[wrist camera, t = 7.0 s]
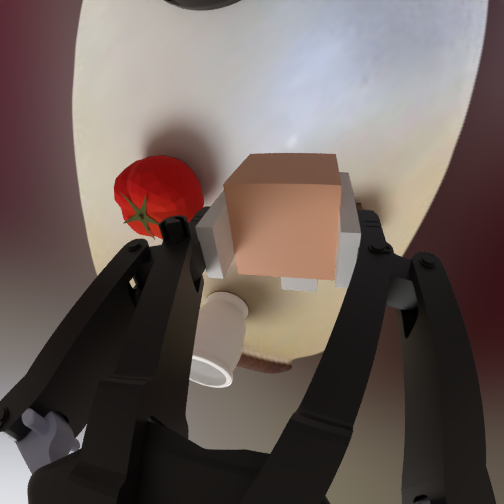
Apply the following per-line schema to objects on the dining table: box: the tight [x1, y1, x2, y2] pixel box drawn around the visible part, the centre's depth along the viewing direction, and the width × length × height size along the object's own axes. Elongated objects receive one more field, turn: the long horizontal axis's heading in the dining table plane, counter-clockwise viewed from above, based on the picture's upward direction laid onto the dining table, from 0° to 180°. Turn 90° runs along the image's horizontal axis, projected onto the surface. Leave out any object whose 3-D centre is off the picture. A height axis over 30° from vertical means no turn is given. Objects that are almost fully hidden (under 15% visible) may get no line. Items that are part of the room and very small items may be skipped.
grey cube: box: [281, 277, 318, 292], centre depth 39 cm, size 5×5×5 cm
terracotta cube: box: [223, 153, 341, 280], centre depth 14 cm, size 5×5×5 cm
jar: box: [189, 292, 248, 388], centre depth 46 cm, size 11×10×15 cm
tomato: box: [114, 155, 204, 240], centre depth 34 cm, size 11×13×10 cm
